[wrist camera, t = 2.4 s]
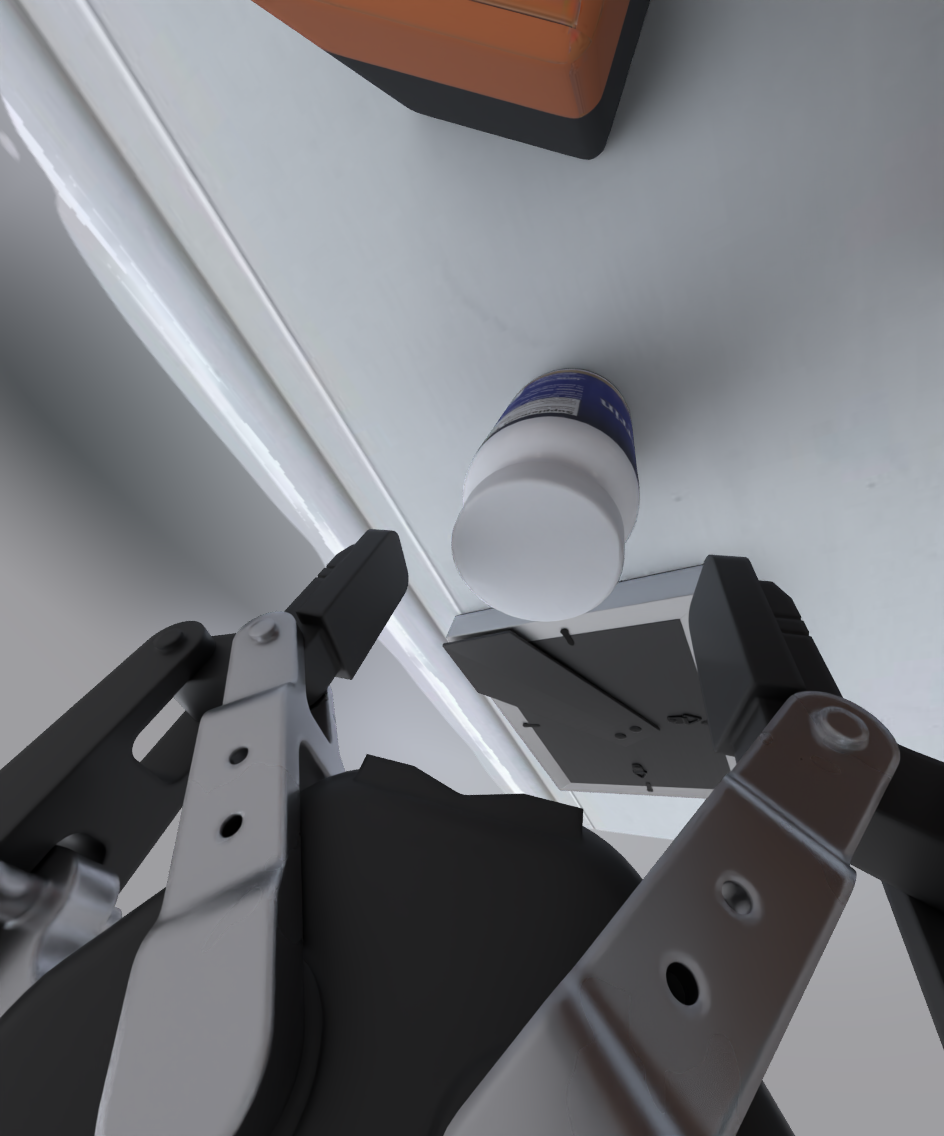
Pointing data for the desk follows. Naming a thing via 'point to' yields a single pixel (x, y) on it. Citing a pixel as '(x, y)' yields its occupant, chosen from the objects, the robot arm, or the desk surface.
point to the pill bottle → (550, 500)
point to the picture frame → (602, 689)
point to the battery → (487, 60)
